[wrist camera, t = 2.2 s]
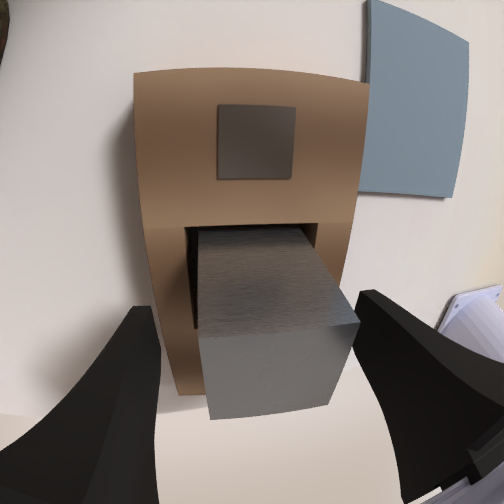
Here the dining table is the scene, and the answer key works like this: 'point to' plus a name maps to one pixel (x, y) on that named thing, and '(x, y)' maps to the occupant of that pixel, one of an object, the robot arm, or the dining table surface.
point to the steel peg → (268, 321)
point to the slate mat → (413, 104)
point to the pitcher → (3, 25)
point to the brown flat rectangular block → (240, 174)
